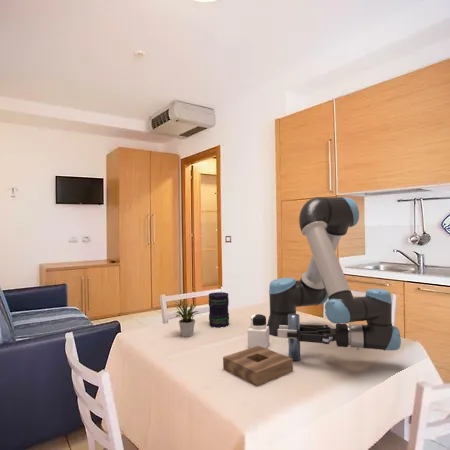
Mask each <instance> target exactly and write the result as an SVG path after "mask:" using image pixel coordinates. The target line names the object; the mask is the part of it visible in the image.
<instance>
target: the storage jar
mask: <svg viewBox="0 0 450 450" xmlns="http://www.w3.org/2000/svg"><path fill="white" fill-rule="evenodd" d="M229 302H230V301H229V293H228V292H223V291H222V292H221V291H218V292H211V293H209V294H208V308H209V309H208V310H209V311H208V312H209V314H208V320H209V321H208V322H209V324H208V325H210V326H211V327H210V326H209V327H210V328H214V327H215V328H214V329H217V328H218V329H221V327H223V328H226V326H227V327H228V325H230V312H229V305H230V303H229Z"/></svg>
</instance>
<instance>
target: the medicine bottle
mask: <svg viewBox="0 0 450 450" xmlns="http://www.w3.org/2000/svg"><path fill="white" fill-rule="evenodd" d="M269 345H270V334H269V326H267V316H266V315H264V314H259V313H258V314H257V313H256V314H253V315H251V316H250V327H248V329H247V349H249V348H252V347H255V346H260V347H263V348H266V349H268V346H269Z"/></svg>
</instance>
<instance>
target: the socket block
mask: <svg viewBox="0 0 450 450" xmlns="http://www.w3.org/2000/svg"><path fill="white" fill-rule="evenodd" d="M293 361H294V360H293V358H290V357H289V356H287V355H284V354H281V353H279V352H276V351H273V350H271V349H268V348H263V347H260V346H255V347H252V348H247V349H244V350H243V349H242V350H241V351H238V352H234V353H231V354H228V355H224V356H223V357H222V363H223V364H222V367H223V370H225V372H228V373H230V374H232V375H234V376H236V377H238V378H240V379H241V380H243V381H246V382H248V383H249V384H251V385H253V386H256V387H259V386H261V385H264V384H266V383H269V382H271V381H273V380H275V379H278V378H279V377H282V376H285V375H287V374H289V373H292V372H294V362H293Z"/></svg>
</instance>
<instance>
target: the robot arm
mask: <svg viewBox="0 0 450 450" xmlns="http://www.w3.org/2000/svg"><path fill="white" fill-rule="evenodd" d="M298 217H299V218H298V219H299V220H298V221H299V222H298V224H299V228H300V231H301V234H302V235H303V236H305V238H306V240H307V242H308V245H309V248H310V251H311V257H310V260H309V263H308V266H307V269H306V271H304V272H303V273H302V274H301V277H300V280H296V279H295V278H294V277H281V278H276V279H273V280H272V281H270V283H269V289H268V290H269V291H268V293H269V296H268V297H269V317H268V320H267V323H266V326H269V335H272V336H277V338H279V339H280V338H283V339H288V338H295V339H298V340H299V341H300V343H301V342H303V343H312V344H313V343H315V344H316V343H317V344H324V345H330V342H335V344H336V347H339V348H340V347H341V348H348V347H350V348H353V349H355V348H356V350H360V349H367V350H368V349H370V350H380V351H398V350H399V349H400V348H401V343H402V341H401V340H402V339H401V333H400V329H399V328H398V327H397V326H395V325H393V322H392V319H393V317H392V308H393V307H392V305H393V303H392V295H391V292H390V291H389V290H388V289H383V288H368V289H366V291H365V296H356V297H354V295H353V293H352V291H351V288H350V286H349V283H348V281H347V278H346V276H345V273H344V270H343V268H342V266H341V263H340V261H339V259H338V258H339V257H338V256H337V253H336V252H337V248H338V246H339V243H340V240H341V237H344V236H345V235H347V233H348V230H349V228H353V227H354V226H356V225H357V224H358V222H359V218H360V210H359V207H358V204H357V203H356V201H355V200H354V199H352V198H351V197H344V196H340V197H331V196H330V197H329V196H327V197H325V196H323V197H322V196H317V197H315V196H314V197H313V198H310V199H308V200H307V201H306V202H305V203H304V204H303V206H302V207H301V210H300V211H299V216H298ZM323 304H324V309H325V311H324V313H325V316H326V318H327V319H328V321H329V322H330V323H332V324H335V328H333V327H330V326H329V325H327V324H321V325H320V324H319V325H317V324H301V323H300V331H299V330H298V329H297V330H288V314H297V308H298V307H312V306H320V305H323ZM364 321H365V322H366V324H359V323H358V324H357V323H355V322H364Z"/></svg>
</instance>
